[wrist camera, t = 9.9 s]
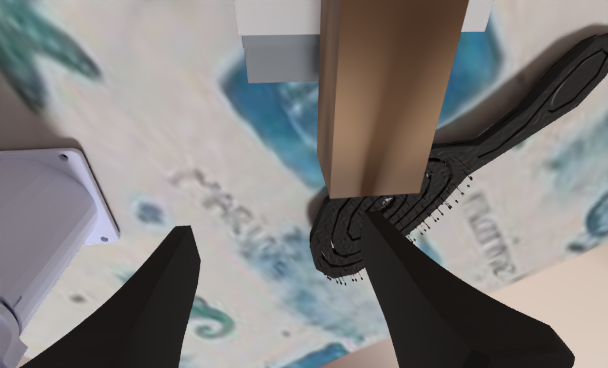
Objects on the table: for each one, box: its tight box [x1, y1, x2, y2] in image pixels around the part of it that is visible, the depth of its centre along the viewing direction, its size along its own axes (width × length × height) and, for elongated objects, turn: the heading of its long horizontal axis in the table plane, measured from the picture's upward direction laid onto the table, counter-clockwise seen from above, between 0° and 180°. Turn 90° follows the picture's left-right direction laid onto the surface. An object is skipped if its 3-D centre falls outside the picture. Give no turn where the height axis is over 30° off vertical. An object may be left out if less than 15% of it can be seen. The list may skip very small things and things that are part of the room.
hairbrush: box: [310, 33, 608, 285], centre depth 22 cm, size 8×4×25 cm
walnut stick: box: [317, 0, 469, 199], centre depth 11 cm, size 14×4×4 cm, turn 0°
